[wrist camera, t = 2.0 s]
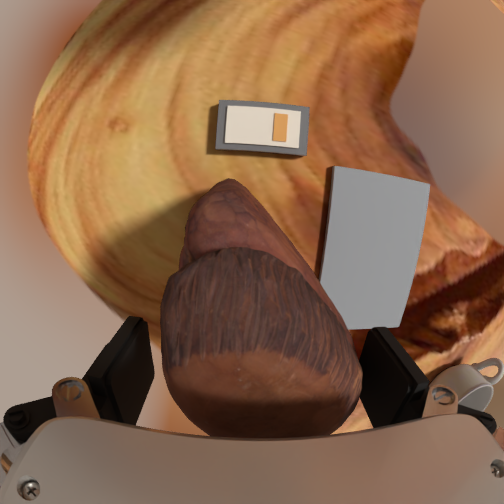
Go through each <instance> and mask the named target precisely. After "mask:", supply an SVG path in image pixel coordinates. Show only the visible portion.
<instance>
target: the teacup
mask: <svg viewBox="0 0 504 504" xmlns="http://www.w3.org/2000/svg"><path fill="white" fill-rule="evenodd" d="M492 365H495V366H497V367H498V373H497V374H496V376H494V377H487V376H483V375H482V374H481V373H480V372H479V371H480V370H482V369H483V368H485V367H488V366H492ZM503 374H504V365H503V363H502V361H501V360H499V359H497V358H490V359H487V360H485V361H482V362H480V363H473V364H472V365H468V364H460V365H456V366H453V367H450V368H448V369H446V370H444V371H443V372H441V373H440V374H439V375H438V376H437V377H436V378H435V379H434V380H433V381H432V382H431V384H430V385H429V388H431V387H432V386H434V385H445V386H448V387H450V388H451V389H453V390H454V391H455V392H456V394H457V396H458V404H460V405H463V406H466V407H469V408H472V409H475V410H479V411H482V412H483V411H484V410H485V409H486V407H487V405H488V404H489V402H490V400H491V398H492V396H493V386H492V385H493V384H496V383H497V382H498V381H499V380H500V379H501V378H502V377H503Z"/></svg>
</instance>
